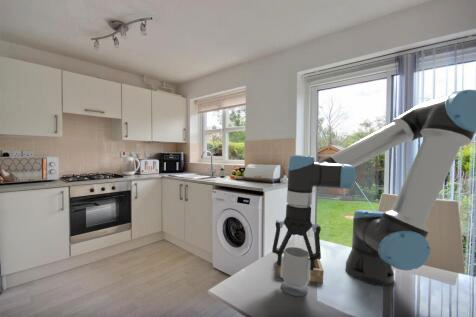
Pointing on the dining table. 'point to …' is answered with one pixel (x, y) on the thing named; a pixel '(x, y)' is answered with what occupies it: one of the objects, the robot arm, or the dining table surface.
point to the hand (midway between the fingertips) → (294, 277)
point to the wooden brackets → (315, 274)
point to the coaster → (294, 289)
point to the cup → (295, 266)
